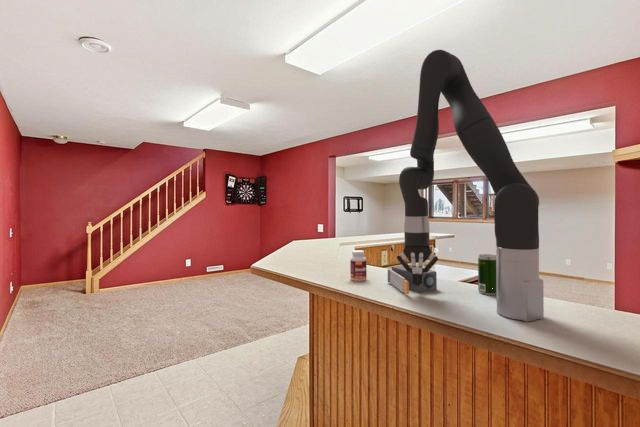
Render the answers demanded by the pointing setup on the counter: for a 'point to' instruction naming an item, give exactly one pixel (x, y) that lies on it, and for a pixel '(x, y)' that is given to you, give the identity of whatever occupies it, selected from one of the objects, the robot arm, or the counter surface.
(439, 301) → the counter surface
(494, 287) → the beer can
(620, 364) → the counter surface
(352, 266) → the pill bottle
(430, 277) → the camera body
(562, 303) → the counter surface
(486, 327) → the counter surface
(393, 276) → the grey orange flat panel
